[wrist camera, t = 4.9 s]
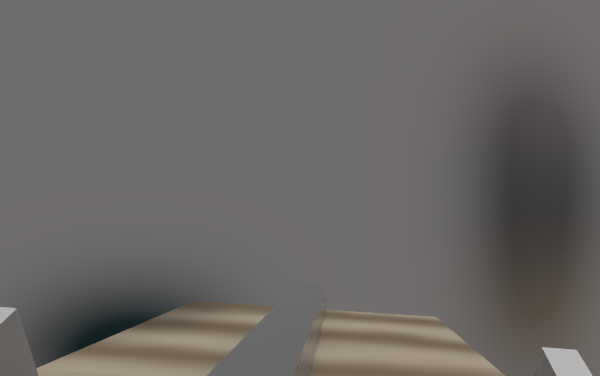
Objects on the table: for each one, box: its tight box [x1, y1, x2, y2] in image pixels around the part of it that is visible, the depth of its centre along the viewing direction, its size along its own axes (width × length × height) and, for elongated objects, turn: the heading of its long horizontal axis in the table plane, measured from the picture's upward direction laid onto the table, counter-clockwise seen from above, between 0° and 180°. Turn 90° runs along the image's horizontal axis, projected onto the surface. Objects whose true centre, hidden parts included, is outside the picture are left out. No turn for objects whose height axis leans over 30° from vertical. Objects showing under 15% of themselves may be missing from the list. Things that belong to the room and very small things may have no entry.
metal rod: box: [207, 282, 326, 376], centre depth 20 cm, size 26×2×2 cm, turn 175°
